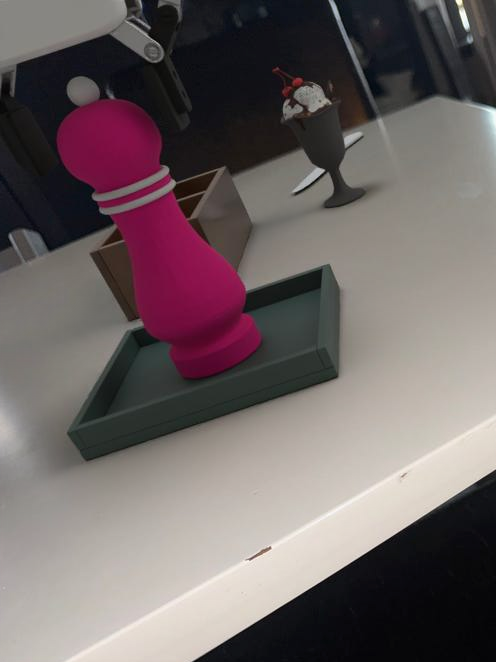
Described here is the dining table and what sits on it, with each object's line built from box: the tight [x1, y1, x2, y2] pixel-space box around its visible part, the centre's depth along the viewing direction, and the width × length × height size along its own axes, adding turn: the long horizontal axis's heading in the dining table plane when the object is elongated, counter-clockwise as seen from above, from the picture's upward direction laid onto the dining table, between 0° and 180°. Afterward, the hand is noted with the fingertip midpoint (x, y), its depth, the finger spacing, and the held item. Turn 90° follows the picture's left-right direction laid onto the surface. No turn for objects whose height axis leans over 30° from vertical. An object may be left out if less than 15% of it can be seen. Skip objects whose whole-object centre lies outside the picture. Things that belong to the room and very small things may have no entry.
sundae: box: [271, 66, 366, 208], centre depth 82 cm, size 7×7×15 cm
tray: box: [66, 263, 341, 462], centre depth 56 cm, size 17×15×2 cm
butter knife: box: [291, 131, 364, 194], centre depth 103 cm, size 1×24×3 cm
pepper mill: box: [56, 76, 261, 379], centre depth 51 cm, size 7×7×20 cm
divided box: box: [89, 165, 253, 322], centre depth 78 cm, size 10×19×7 cm, turn 10°
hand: (114, 149), depth 48 cm, fingers open, 8 cm apart
